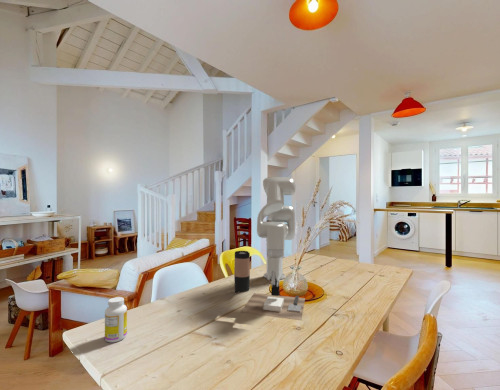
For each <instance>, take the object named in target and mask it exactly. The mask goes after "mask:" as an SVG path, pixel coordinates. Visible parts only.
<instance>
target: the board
mask: <svg viewBox="0 0 500 390" xmlns="http://www.w3.org/2000/svg"><path fill="white" fill-rule="evenodd" d="M268 297H276V298H284V304H283V307H282V310H281V312H279V311H271V310H264V303H265V301H266V299H267V298H268ZM294 300H295V296H287V295H279V296H273V295H271V294H268V293H257V292H254V293H253V294H251V296H250V298H249V299H248V301H247V302H246V303H245V305H244V306H243V308H242V309H241V310H240V313H242V314H250V315H251V314H252V315H258V316H265V317H273V318H282V319H288V320H296V321H297V320H298V321H302V318H303V312H304V306H305V301H306V298H305V297H299V299H298V304H297V305H301V310H300V312H292V311H287V310H288V307H289V304H294Z"/></svg>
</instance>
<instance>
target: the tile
mask: <svg viewBox="0 0 500 390" xmlns="http://www.w3.org/2000/svg"><path fill="white" fill-rule="evenodd" d="M283 304H284V298H276V297H268V298H267V299H266V301H265V303H264V310H271V311H279V312H281V310H282V307H283Z"/></svg>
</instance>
